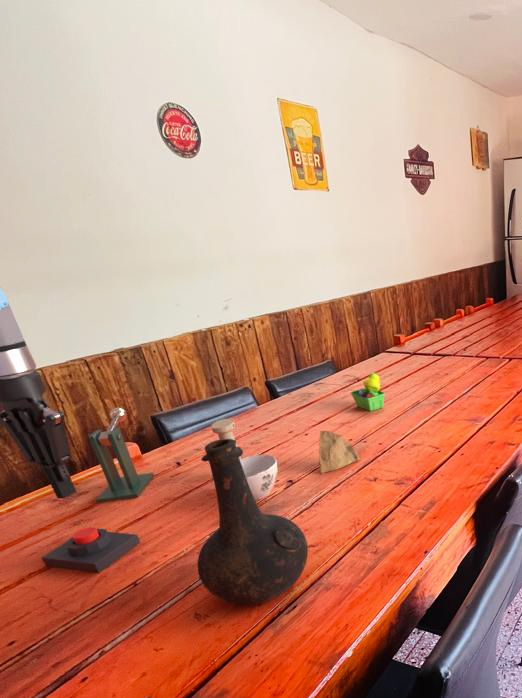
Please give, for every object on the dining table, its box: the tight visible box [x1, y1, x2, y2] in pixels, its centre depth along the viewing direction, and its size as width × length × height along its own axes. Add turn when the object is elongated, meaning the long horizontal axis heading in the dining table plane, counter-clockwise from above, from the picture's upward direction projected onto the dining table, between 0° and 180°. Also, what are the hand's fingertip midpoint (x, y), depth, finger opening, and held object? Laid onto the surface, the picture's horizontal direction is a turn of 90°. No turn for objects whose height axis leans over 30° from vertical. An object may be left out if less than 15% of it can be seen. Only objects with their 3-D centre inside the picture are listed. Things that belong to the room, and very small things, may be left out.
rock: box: [318, 430, 361, 475], centre depth 134 cm, size 11×9×10 cm
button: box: [71, 526, 99, 545], centre depth 101 cm, size 4×4×2 cm
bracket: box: [88, 427, 155, 504], centre depth 125 cm, size 12×9×16 cm
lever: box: [98, 407, 128, 447], centre depth 127 cm, size 13×4×4 cm, turn 13°
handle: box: [210, 418, 242, 459], centre depth 129 cm, size 5×6×15 cm
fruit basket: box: [350, 372, 386, 412], centre depth 175 cm, size 11×9×11 cm
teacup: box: [240, 454, 278, 501], centre depth 120 cm, size 15×12×8 cm
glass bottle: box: [197, 439, 309, 606], centre depth 86 cm, size 18×18×28 cm
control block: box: [41, 528, 141, 574], centre depth 103 cm, size 13×10×4 cm
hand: (67, 494), depth 97 cm, fingers closed
